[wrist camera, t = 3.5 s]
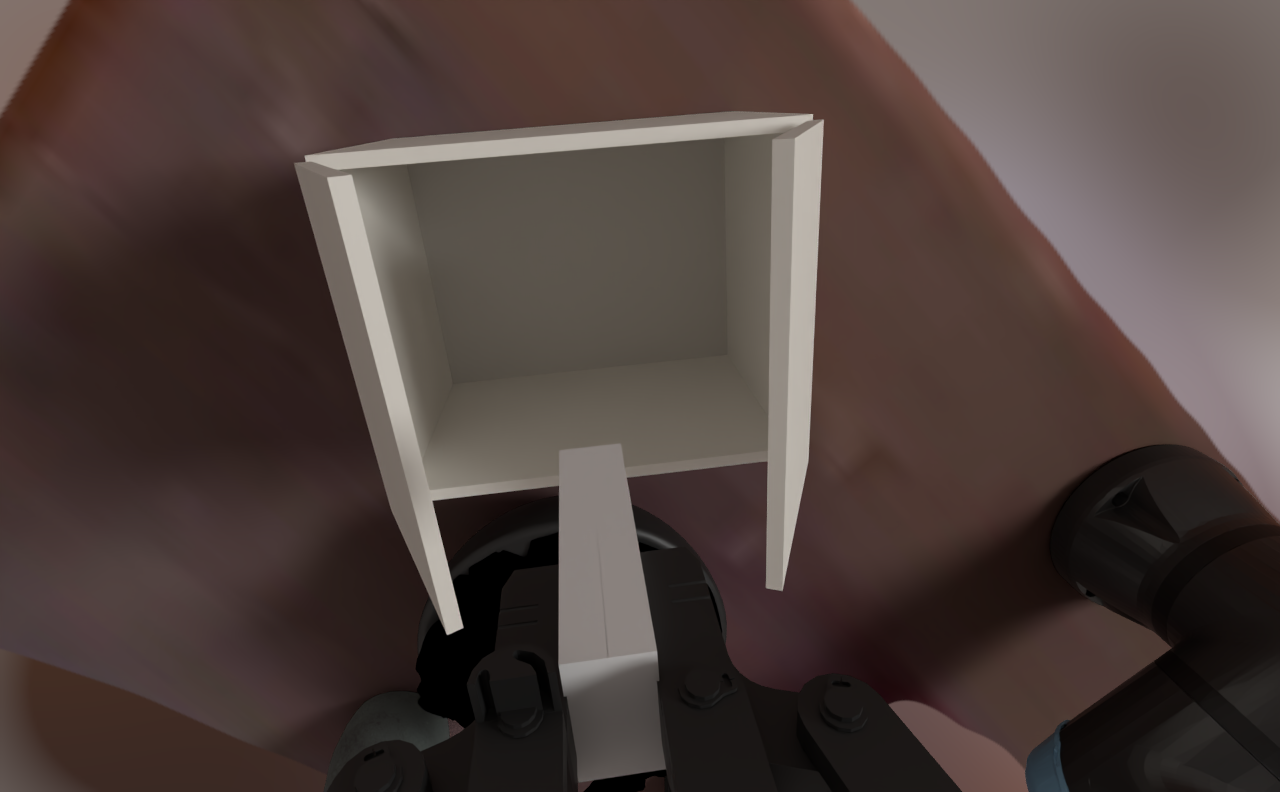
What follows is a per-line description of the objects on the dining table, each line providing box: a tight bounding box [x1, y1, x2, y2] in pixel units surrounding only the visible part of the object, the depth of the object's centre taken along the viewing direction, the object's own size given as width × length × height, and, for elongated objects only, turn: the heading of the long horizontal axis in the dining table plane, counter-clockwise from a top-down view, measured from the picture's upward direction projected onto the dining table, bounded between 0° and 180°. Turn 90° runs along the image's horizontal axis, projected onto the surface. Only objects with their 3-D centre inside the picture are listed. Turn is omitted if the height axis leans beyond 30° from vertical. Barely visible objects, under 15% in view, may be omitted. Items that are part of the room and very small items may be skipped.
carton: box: [305, 111, 813, 501], centre depth 35 cm, size 20×16×14 cm
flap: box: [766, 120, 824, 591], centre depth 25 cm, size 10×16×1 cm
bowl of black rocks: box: [416, 496, 727, 792], centre depth 42 cm, size 20×20×19 cm
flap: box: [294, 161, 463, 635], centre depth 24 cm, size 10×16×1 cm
